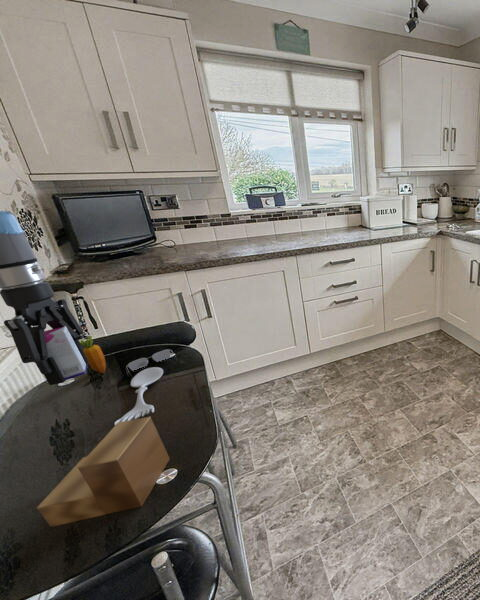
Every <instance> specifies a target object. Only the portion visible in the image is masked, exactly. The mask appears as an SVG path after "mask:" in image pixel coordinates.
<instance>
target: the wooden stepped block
mask: <svg viewBox="0 0 480 600" xmlns="http://www.w3.org/2000/svg"><path fill="white" fill-rule="evenodd" d="M170 460H171V459H170V456H169V454H168V452H167V449H166V447H165V445H164V443H163V441H162V439H161V437H160V434H159V432H158V430H157V428H156V425H155V424H154V421H153V418H152V416H144V417H139V418H138V419H132V420H129V421H124V422H119V423H117V424H116V425H115V424H114V426H113V427H112V429H111V430H110V431H109V432H108V433H107V434H106V435H105V436H104V437H103V438H102V439H101V440H100V442H99V443H98V444H97V445H96V446H95V447H94V448H93V450H91V451H90V453H89V454H88V455H87V456H84V457H82V458H81V459H80V460H79V461H78V462H77V463H76V465H75V466H73V468H72V469H71V470H70V471H69V472H68V473H67V474H66V476H64V478H63V479H61V481H60V482H59V483H58V484H57V485H56V486H55V487H54V489H53V490H51V491H50V493H49V494H48V495H47V496H46V497H45V498H44V499H43V500H42V501H41V502H40V503H39V505H38V506H37V507H36V509H37V510H38V511H39V512H40V514H41V516H42V517H43V518H44V520H45V521H46V523H47V524H48V526H49V527H50V528H52V527H57V526H62V525H65V524H66V525H67V524H71V523H76V522H79V521H83V520H88V519H92V518H93V519H94V518H97V517H101V516H106V515H109V514H115V513H119V512H122V511H127V510H132V509H136V508H141V507H143V505H144V503H145V502H146V500H147V499H148V496H149V495H150V493H151V492H152V490H153V488H154V487H155V486H156V483H157V481H158V480H159V479H160V477H161V475H162V474H163V472H164V470H165V468H166V466H167V465H168V463H169V462H170Z"/></svg>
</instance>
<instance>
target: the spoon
mask: <svg viewBox="0 0 480 600" xmlns="http://www.w3.org/2000/svg"><path fill="white" fill-rule="evenodd" d="M163 374H164V369H163V368H162V367H158V366H153V367H147V368H144V369H143V370H141V371H139V372H138V373H136V374H135V375H134V376H133V378H131V381H130V386H131V387H132V388H136V390H135V391H134V392H135V394H137V395H136V396H137V397H136V401H135V405H134V407H132V409H131V410H129V411H128V412H126V413H125V414H124V415H123V416H122V417H121V418H118V419H117V420H116V421H114V426H115V425H116V424H117V423H119V422H124V421H129V420H134V419H140V418H144V417H146V415H147V416H148V415H150V413H152V414H153V413H155V407H154V405H152V404H147V403H146V402H145V400H144V396H143V395H144V393H145V392H146V391H147V390H148V386H150V385H152V384H153V383H155V382H157V381H158V380H159V379H160V378H161V377H162V376H163ZM137 388H138V389H137Z"/></svg>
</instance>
